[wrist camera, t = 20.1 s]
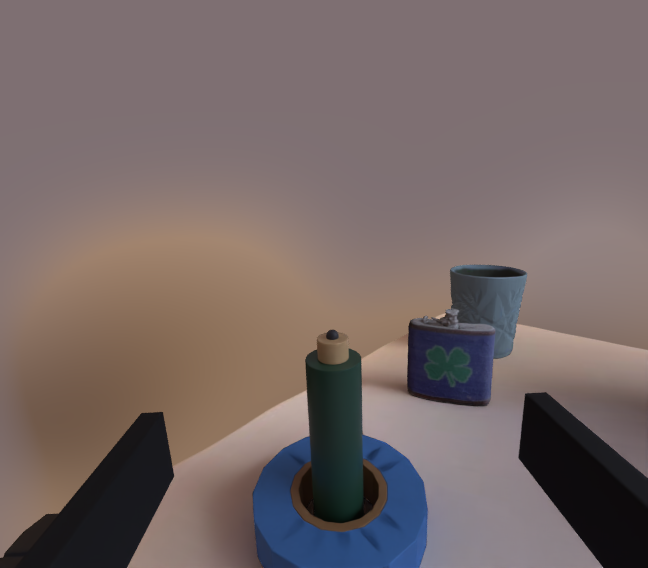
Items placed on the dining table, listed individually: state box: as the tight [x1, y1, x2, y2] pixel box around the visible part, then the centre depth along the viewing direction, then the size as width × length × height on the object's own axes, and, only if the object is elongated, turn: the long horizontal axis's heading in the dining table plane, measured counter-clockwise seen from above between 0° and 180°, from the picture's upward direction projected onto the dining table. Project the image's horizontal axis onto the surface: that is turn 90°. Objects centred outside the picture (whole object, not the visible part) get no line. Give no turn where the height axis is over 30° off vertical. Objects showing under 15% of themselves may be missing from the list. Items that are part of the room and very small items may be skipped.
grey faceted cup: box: [450, 265, 527, 358], centre depth 52 cm, size 10×10×12 cm
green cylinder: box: [305, 330, 364, 523], centre depth 24 cm, size 4×4×15 cm
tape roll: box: [253, 435, 428, 568], centre depth 25 cm, size 12×12×3 cm
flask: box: [407, 308, 495, 406], centre depth 39 cm, size 9×3×11 cm, turn 69°
